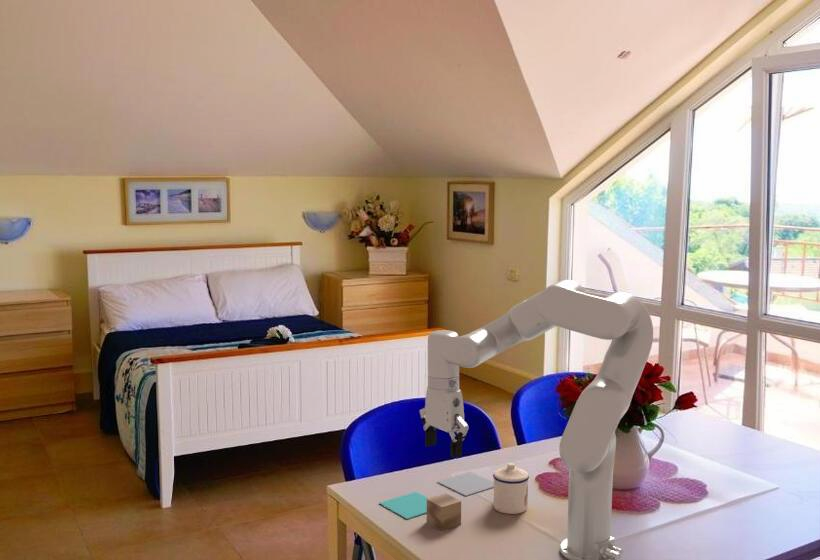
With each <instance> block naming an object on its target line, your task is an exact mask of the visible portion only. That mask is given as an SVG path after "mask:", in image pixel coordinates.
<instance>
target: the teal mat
mask: <svg viewBox="0 0 820 560" xmlns="http://www.w3.org/2000/svg"><path fill="white" fill-rule="evenodd" d="M429 498H430V497H427V496H425V495H424V494H421V493H420V492H417V491H414V492H411V493H407V494H404V495H401V496H397V497H395V498H391V499H388V500H383V501H380V502H379V503H378V505H380V504H381V505H380V506H382V505H383V506H382V507H384V506H385V507H386V509H387V508H388V509H387V510H389V509H390V510H389V511H391V512H392V513H394V512H395V514H396V513H397V515H398V514H399V515H398V516H400V515H401V516H402V518H403V517H404V519H405V518H406V519H405V520H407V519H408V520H410V518H411V519H413V518H416V517H420V516H422V515H425V514H426V515H427V499H429ZM385 507H384V508H385ZM401 516H400V517H401Z"/></svg>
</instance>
